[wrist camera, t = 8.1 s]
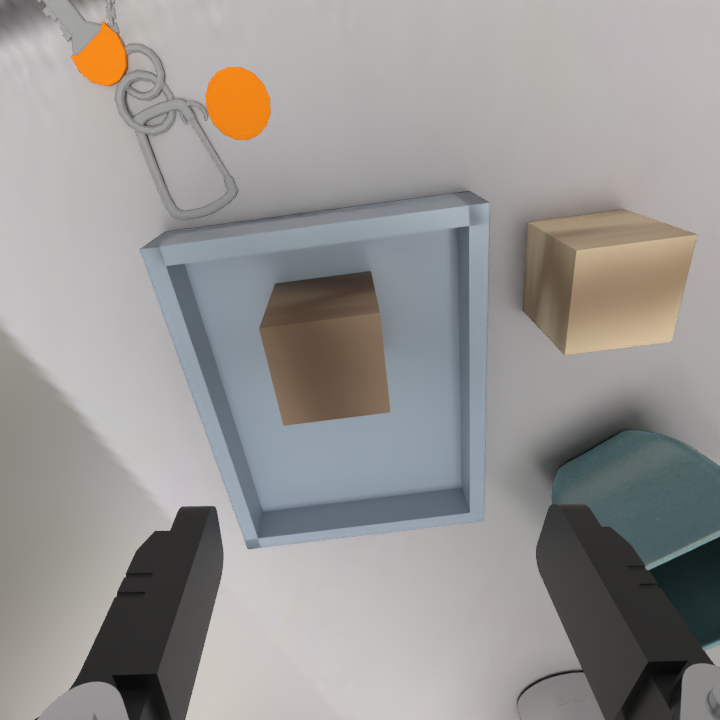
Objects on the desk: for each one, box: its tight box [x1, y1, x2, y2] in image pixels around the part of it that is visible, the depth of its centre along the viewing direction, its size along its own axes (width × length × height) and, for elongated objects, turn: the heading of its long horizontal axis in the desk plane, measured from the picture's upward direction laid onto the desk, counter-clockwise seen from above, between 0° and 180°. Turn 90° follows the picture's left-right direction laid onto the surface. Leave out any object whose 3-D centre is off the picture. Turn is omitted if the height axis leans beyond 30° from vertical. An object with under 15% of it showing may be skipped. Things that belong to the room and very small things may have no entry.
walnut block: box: [259, 271, 391, 426], centre depth 20 cm, size 4×4×5 cm
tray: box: [140, 191, 489, 549], centre depth 24 cm, size 18×14×3 cm
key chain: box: [37, 0, 271, 219], centre depth 17 cm, size 13×7×1 cm, turn 18°
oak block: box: [523, 209, 697, 355], centre depth 20 cm, size 4×4×5 cm
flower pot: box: [552, 430, 720, 651], centre depth 25 cm, size 9×9×9 cm
